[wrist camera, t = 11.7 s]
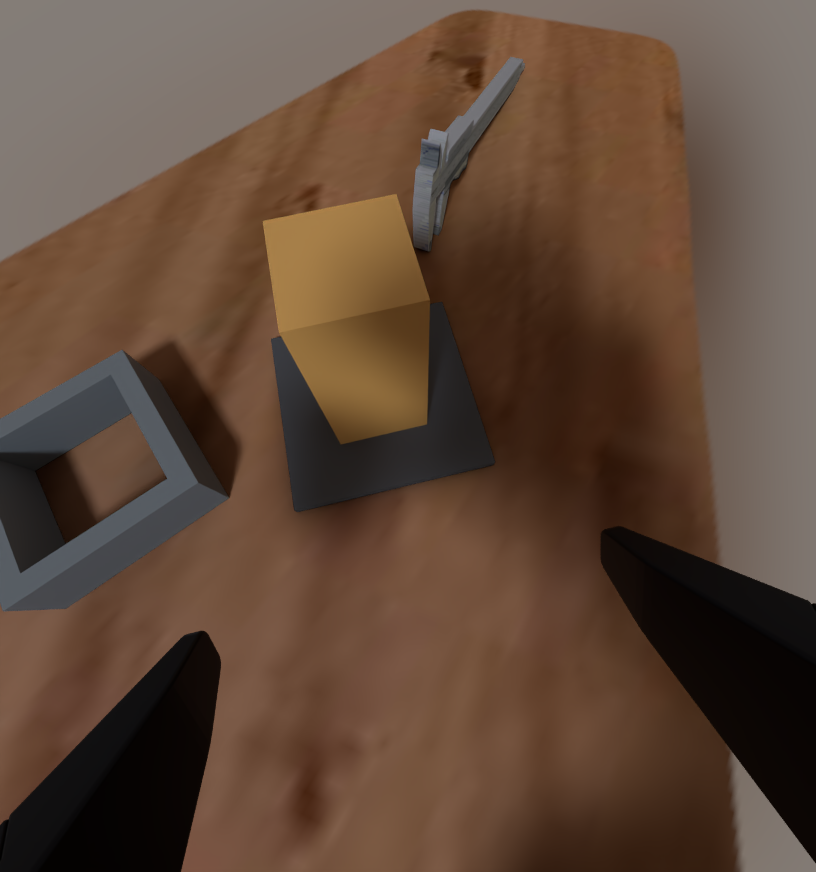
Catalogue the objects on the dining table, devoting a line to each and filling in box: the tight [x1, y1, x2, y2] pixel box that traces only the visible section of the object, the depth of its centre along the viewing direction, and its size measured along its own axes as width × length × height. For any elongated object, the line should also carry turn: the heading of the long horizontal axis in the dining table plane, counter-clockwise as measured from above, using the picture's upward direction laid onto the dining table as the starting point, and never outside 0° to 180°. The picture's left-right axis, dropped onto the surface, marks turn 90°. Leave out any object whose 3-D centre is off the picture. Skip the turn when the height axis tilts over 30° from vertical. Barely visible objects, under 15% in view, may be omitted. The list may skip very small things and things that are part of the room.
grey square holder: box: [0, 350, 229, 611], centre depth 19 cm, size 8×8×3 cm
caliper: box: [413, 57, 525, 252], centre depth 26 cm, size 20×1×6 cm, turn 157°
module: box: [263, 194, 430, 444], centre depth 17 cm, size 4×4×10 cm
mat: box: [271, 302, 495, 512], centre depth 22 cm, size 10×10×1 cm
